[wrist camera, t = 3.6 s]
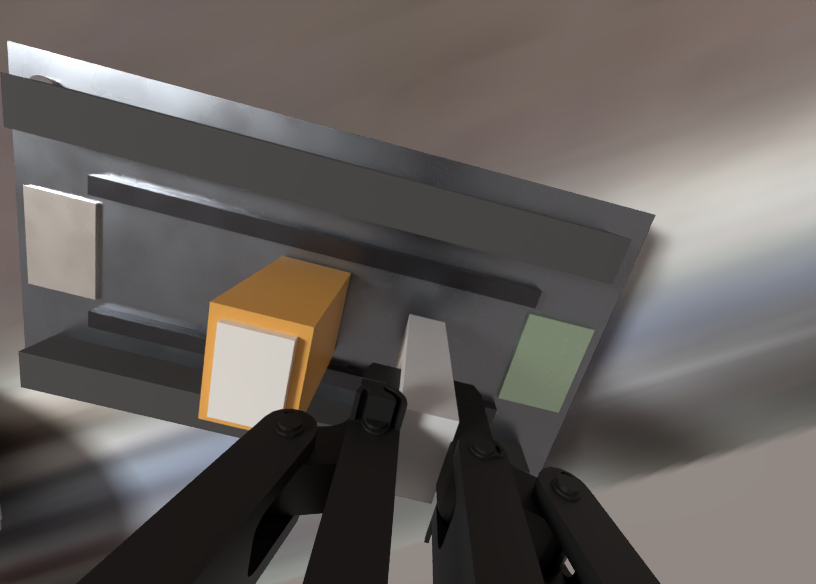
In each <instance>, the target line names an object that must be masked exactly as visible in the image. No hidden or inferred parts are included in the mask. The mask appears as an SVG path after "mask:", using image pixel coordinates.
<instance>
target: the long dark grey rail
mask: <svg viewBox="0 0 816 584" xmlns="http://www.w3.org/2000/svg"><path fill="white" fill-rule="evenodd" d="M0 73H1V88H2V103H3V119H4V127H6V128H10V129H14V130H18V131H22V132H25V133H29V134H33V135H37V136H41V137H45V138H48V139H52V140H56V141H60V142H64V143H68V144H72V145H75V146H79V147H83V148H87V149H91V150H95V151H99V152H102V153H106V154H110V155H114V156H118V157H122V158H126V159H129V160H133V161H137V162H141V163H145V164H149V165H152V166H156V167H160V168H164V169H168V170H172V171H176V172H179V173H183V174H187V175H191V176H195V177H199V178H203V179H206V180H210V181H214V182H218V183H222V184H226V185H229V186H233V187H237V188H241V189H245V190H249V191H253V192H256V193H260V194H264V195H268V196H272V197H276V198H280V199H283V200H287V201H291V202H295V203H299V204H303V205H306V206H310V207H314V208H318V209H322V210H326V211H330V212H333V213H337V214H341V215H345V216H349V217H353V218H357V219H360V220H364V221H368V222H372V223H376V224H380V225H383V226H387V227H391V228H395V229H399V230H403V231H407V232H410V233H414V234H418V235H422V236H426V237H430V238H434V239H437V240H441V241H445V242H449V243H453V244H457V245H460V246H464V247H468V248H472V249H476V250H480V251H484V252H487V253H491V254H495V255H499V256H503V257H507V258H511V259H514V260H518V261H522V262H526V263H530V264H534V265H537V266H541V267H545V268H549V269H553V270H557V271H561V272H564V273H568V274H572V275H576V276H580V277H584V278H588V279H591V280H595V281H599V282H603V283H607V284H611V285H612V284H613V282H614V279H615V277H616V275H617V273H618V270H619V268H620V266H621V263H622V261H623V259H624V257H625V254H626V252H627V250H628V247H629V245H630V243H631V241H632V240H631V239H629V238H626V237H623V236H620V235H617V234H614V233H611V232H608V231H604V230H600V229H597V228H593V227H589V226H585V225H582V224H578V223H574V222H570V221H566V220H563V219H559V218H555V217H551V216H548V215H544V214H540V213H536V212H533V211H529V210H525V209H521V208H518V207H514V206H510V205H506V204H502V203H499V202H495V201H491V200H487V199H484V198H480V197H476V196H472V195H469V194H465V193H461V192H457V191H454V190H450V189H446V188H442V187H438V186H435V185H431V184H427V183H423V182H420V181H416V180H412V179H408V178H405V177H401V176H397V175H393V174H390V173H386V172H382V171H378V170H374V169H371V168H367V167H363V166H359V165H356V164H352V163H348V162H344V161H341V160H337V159H333V158H329V157H326V156H322V155H318V154H314V153H310V152H307V151H303V150H299V149H295V148H292V147H288V146H284V145H280V144H277V143H273V142H269V141H265V140H262V139H258V138H254V137H250V136H246V135H243V134H239V133H235V132H231V131H228V130H224V129H220V128H216V127H213V126H209V125H205V124H201V123H198V122H194V121H190V120H186V119H182V118H179V117H175V116H171V115H167V114H164V113H160V112H156V111H152V110H149V109H145V108H141V107H137V106H134V105H130V104H126V103H122V102H118V101H115V100H111V99H107V98H103V97H100V96H96V95H92V94H88V93H85V92H81V91H77V90H73V89H70V88H66V87H62V86H58V85H54V84H50V83H46V82H42V81H38V80H33V79H29V78H25V77H20V76H16V75H11V74H7V73H2V72H0Z"/></svg>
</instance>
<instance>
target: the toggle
mask: <svg viewBox="0 0 816 584" xmlns="http://www.w3.org/2000/svg"><path fill="white" fill-rule="evenodd" d="M350 276H351V273H349V272H345V271H341V270H337V269H333V268H329V267H325V266H321V265H317V264H313V263H309V262H306V261H302V260H298V259H294V258H290V257H286V256H282V257H280V258H278V259H277V260H275V261H274V262H272V263H270V264H269V265H267V266H266V267H264V268H263V269H261V270H259V271H258V272H256V273H255V274H253V275H251V276H250V277H248V278H247V279H245V280H244V281H242V282H240V283H239V284H237V285H236V286H234V287H233V288H231V289H229V290H228V291H226V292H225V293H223V294H221V295H220V296H218V297H217V298H215V299H214V300H212V301H210V307H209V317H208V327H207V337H206V347H205V357H204V366H203V376H202V386H201V396H200V406H199V416H198V418H199V419H203V420H207V421H211V422H216V423H220V424H224V425H228V426H233V427H237V428H241V429H246V430H250V429H251V428H252V427H253V426H255V425H256V424H257V423H258V422H259V421H260V420H261V419H262V418H264V417H265V416H266V415H268V414H269V413H271V412H273V411H276V410H280V409H297V410H301V411H304V412H306V411H307V409H308V407H309V404H310V402H311V400H312V398H313V396H314V394H315V392H316V390H317V388H318V386H319V383H320V381H321V379H322V377H323V375H324V373H325V371H326V369H327V367H328V365H329V363H330V360H331V358H332V356H333V354H334V350H335V345H336V341H337V336H338V331H339V327H340V322H341V317H342V313H343V308H344V303H345V299H346V294H347V290H348V285H349V280H350Z"/></svg>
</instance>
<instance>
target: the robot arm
mask: <svg viewBox="0 0 816 584" xmlns="http://www.w3.org/2000/svg"><path fill="white" fill-rule="evenodd" d="M435 491H436V492H437V504H436V507H435V510H434V513H433V515H432V518H431V521H430V524H429V527H428V530H427V533H426V536H425V541H424V542H426V543H429V540H430V537H431V535H432V553H433V554H432V555H433V584H660V582H659V581H658V580H657V578H656V577H655V576H654V574H653V573H652V572H651V571H650V569H649V568H648V566H647V565H646V564H645V563H644V561H643V560H642V559H641V557H640V556H639V555H638V553H637V552H636V551H635V550H634V548H633V547H632V545H631V544H630V543H629V541H628V540H627V539H626V537H625V536H624V535H623V533H622V532H621V531H620V530H619V528H618V527H617V526H616V524H615V523H614V522H613V520H612V519H611V518H610V517H609V515H608V514H607V512H606V511H605V510H604V508H603V507H602V506H601V505H600V503H599V502H598V500H597V499H596V498H595V497H594V495H593V494H592V493H591V491H590V490H589V489H588V488H587V487H586V485H585V484H584V483H583V482H582V481H581V480H579V479H578V478H577V477H575V476H574V475H572V474H571V473H569V472H566V471H564V470H562V469H558V468H554V467H549V468H544V469H543V470H541V471H540V472H539V475H538V477H535V476H533V475H531V474H529V473H526V472H524V471H522V470H520V469H518V468H516V467H515V466H513V465H511V464H510V462H509V459H508V455H507V454H506V452H505V450H504V448H503V447H502V446H501V445H500V444H499V443H498V442H497V441H495V440H493V438H492V434H491V430H490V426H489V423H488V419H487V415H486V411H485V407H484V403H483V399H482V395H481V394H480V393H479V391H478V390H477V389H476V388H475V386H474V385H471V384H467V383H463V382H458V381H454V380H453V375H452V368H451V361H450V354H449V347H448V340H447V333H446V326H445V322H441V321H437V320H433V319H429V318H424V317H420V316H416V315H412V314H410V315H409V318H408V322H407V326H406V330H405V333H404V337H403V341H402V345H401V349H400V352H399V356H398V360H397V364H396V367H391V366H386V365H382V364H378V363H374V362H373V363H372V364H370V365H369V366H368V367H366V368H365V371H364V374H363V378H362V381H361V385H360V387H359V388H358V390H357V391H356V394H355V399H354V403H353V407H352V411H351V415H350V418H348V419H347V420H346V421H345V422H343V423H341V424H337V425H334V426H317V422H316V421H315V419H314V418H313V417H312V416H311V415H309V414H308V413H306V412H304V411H301V410H297V409H280V410H276V411H273V412H271V413H269V414H268V415H266V416H265V417H264V418H262V419H261V420H260V421H259V422H258V423H257V424H256V425H255V426H253V427H252V428H251V429H250V430H249V431H248V432H247V433H246V434H244V435H243V436H242V437H241V438H240V439H239V440H238V441H237V442H235V443H234V444H233V445H232V446H231V447H230V448H229V449H228V450H226V451H225V452H224V453H223V454H222V455H221V456H220V457H219V458H217V459H216V460H215V461H214V462H213V463H212V464H211V465H210V466H208V467H207V468H206V469H205V470H204V471H203V472H202V473H201V474H199V475H198V476H197V477H196V478H195V479H194V480H193V481H192V482H190V483H189V484H188V485H187V486H186V487H185V488H184V489H183V490H181V491H180V492H179V493H178V494H177V495H176V496H175V497H174V498H172V499H171V500H170V501H169V502H168V503H167V504H166V505H165V506H163V507H162V508H161V509H160V510H159V511H158V512H157V513H156V514H154V515H153V516H152V517H151V518H150V519H149V520H148V521H146V522H145V523H144V524H143V525H142V526H141V527H140V528H139V529H137V530H136V531H135V532H134V533H133V534H132V535H131V536H130V537H128V538H127V539H126V540H125V541H124V542H123V543H122V544H121V545H119V546H118V547H117V548H116V549H115V550H114V551H113V552H112V553H110V554H109V555H108V556H107V557H106V558H105V559H104V560H103V561H101V562H100V563H99V564H98V565H97V566H96V567H95V568H94V569H92V570H91V571H90V572H89V573H88V574H87V575H86V576H85V577H83V578H82V579H81V580H80V581H79V582H78V583H77V584H255V583H256V582H257V580H258V579H259V577H260V576H261V574H262V573H263V572H264V570H265V569H266V567H267V566H268V564H269V563H270V561H271V560H272V558H273V557H274V555H275V554H276V552H277V551H278V549H279V548H280V546H281V545H282V543H283V542H284V540H285V539H286V537H287V536H288V534H289V533H290V531H291V530H292V528H293V527H294V525H295V524H296V522H297V520H298V518H299V516H300V515H307V514H319V513H323V514H322V518H321V521H320V525H319V528H318V532H317V535H316V539H315V542H314V546H313V549H312V553H311V556H310V560H309V563H308V567H307V570H306V574H305V577H304V581H303V584H388V572H389V560H390V548H391V536H392V523H393V511H394V499H395V496H399V497H404V498H408V499H413V500H417V501H421V502H426V503H430V504H431V503H432V500H433V497H434V494H435ZM566 558H568V560H569V562H570V563H571V565H572V567H573V569H574V570H575V573H574V574H573V575H572V574H571V573H570V572H569V570H568V569H567V567H566V565H565V564H564V563H565V561H566Z"/></svg>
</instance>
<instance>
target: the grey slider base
mask: <svg viewBox="0 0 816 584" xmlns="http://www.w3.org/2000/svg"><path fill="white" fill-rule="evenodd" d="M7 45H8V62H9V74H11V75H16V76H20V77H25V78H29V79H33V80H38V81H42V82H46V83H50V84H54V85H58V86H62V87H66V88H70V89H73V90H77V91H81V92H85V93H88V94H92V95H96V96H100V97H103V98H107V99H111V100H115V101H118V102H122V103H126V104H130V105H134V106H137V107H141V108H145V109H149V110H152V111H156V112H160V113H164V114H167V115H171V116H175V117H179V118H182V119H186V120H190V121H194V122H198V123H201V124H205V125H209V126H213V127H216V128H220V129H224V130H228V131H231V132H235V133H239V134H243V135H246V136H250V137H254V138H258V139H262V140H265V141H269V142H273V143H277V144H280V145H284V146H288V147H292V148H295V149H299V150H303V151H307V152H310V153H314V154H318V155H322V156H326V157H329V158H333V159H337V160H341V161H344V162H348V163H352V164H356V165H359V166H363V167H367V168H371V169H374V170H378V171H382V172H386V173H390V174H393V175H397V176H401V177H405V178H408V179H412V180H416V181H420V182H423V183H427V184H431V185H435V186H438V187H442V188H446V189H450V190H454V191H457V192H461V193H465V194H469V195H472V196H476V197H480V198H484V199H487V200H491V201H495V202H499V203H502V204H506V205H510V206H514V207H518V208H521V209H525V210H529V211H533V212H536V213H540V214H544V215H548V216H551V217H555V218H559V219H563V220H566V221H570V222H574V223H578V224H582V225H585V226H589V227H593V228H597V229H600V230H604V231H608V232H611V233H614V234H617V235H620V236H623V237H626V238H629V239H631V240H632V241H631V243H630V245H629V247H628V250H627V252H626V254H625V257H624V259H623V261H622V263H621V266H620V268H619V270H618V273H617V275H616V277H615V279H614V282H613V284H612V285H611V284H607V283H603V282H599V281H595V280H591V279H588V278H584V277H580V276H576V275H572V274H568V273H564V272H561V271H557V270H553V269H549V268H545V267H541V266H537V265H534V264H530V263H526V262H522V261H518V260H514V259H511V258H507V257H503V256H499V255H495V254H491V253H487V252H484V251H480V250H476V249H472V248H468V247H464V246H460V245H457V244H453V243H449V242H445V241H441V240H437V239H434V238H430V237H426V236H422V235H418V234H414V233H410V232H407V231H403V230H399V229H395V228H391V227H387V226H383V225H380V224H376V223H372V222H368V221H364V220H360V219H357V218H353V217H349V216H345V215H341V214H337V213H333V212H330V211H326V210H322V209H318V208H314V207H310V206H306V205H303V204H299V203H295V202H291V201H287V200H283V199H280V198H276V197H272V196H268V195H264V194H260V193H256V192H253V191H249V190H245V189H241V188H237V187H233V186H229V185H226V184H222V183H218V182H214V181H210V180H206V179H203V178H199V177H195V176H191V175H187V174H183V173H179V172H176V171H172V170H168V169H164V168H160V167H156V166H152V165H149V164H145V163H141V162H137V161H133V160H129V159H126V158H122V157H118V156H114V155H110V154H106V153H102V152H99V151H95V150H91V149H87V148H83V147H79V146H75V145H72V144H68V143H64V142H60V141H56V140H52V139H48V138H45V137H41V136H37V135H33V134H29V133H25V132H22V131H18V130H14V129H13V146H14V163H15V180H16V197H17V214H18V231H19V248H20V265H21V282H22V299H23V316H24V333H25V348H28V347H30V346H32V345H34V344H36V343H38V342H41V341H43V340H45V339H47V338H49V337H52V336H54V335H61V336H65V337H69V338H73V339H77V340H81V341H86V342H90V343H94V344H98V345H102V346H107V347H111V348H115V349H119V350H123V351H127V352H132V353H136V354H140V355H144V356H148V357H153V358H157V359H161V360H165V361H169V362H173V363H178V364H182V365H186V366H190V367H194V368H199V369H203V366H204V357H205V347H206V337H207V327H208V317H209V307H210V301H212V300H214V299H215V298H217V297H218V296H220V295H221V294H223V293H225V292H226V291H228V290H229V289H231V288H233V287H234V286H236V285H237V284H239V283H240V282H242V281H244V280H245V279H247V278H248V277H250V276H251V275H253V274H255V273H256V272H258V271H259V270H261V269H263V268H264V267H266V266H267V265H269V264H270V263H272V262H274V261H275V260H277V259H278V258H280V257H282V256H286V257H290V258H294V259H298V260H302V261H306V262H309V263H313V264H317V265H321V266H325V267H329V268H333V269H337V270H341V271H345V272H349V273H351V276H350V280H349V285H348V290H347V294H346V299H345V303H344V308H343V313H342V317H341V322H340V327H339V331H338V336H337V341H336V345H335V350H334V354H333V356H332V358H331V360H330V363H329V365H328V367H327V369H326V371H325V373H324V375H323V377H322V379H321V381H320V383H319V386H318V388H317V390H316V392H315V394H314V396H316V397H320V398H324V399H328V400H332V401H337V402H341V403H345V404H349V405H353V403H354V399H355V394H356V391H357V390H358V388H359V387H360V385H361V381H362V378H363V374H364V371H365V368H366V367H368V366H369V365H370V364H372V363H373V362H374V363H378V364H382V365H386V366H391V367H396V364H397V360H398V356H399V352H400V349H401V345H402V341H403V337H404V333H405V330H406V326H407V322H408V318H409V315H410V314H412V315H416V316H420V317H424V318H429V319H433V320H437V321H441V322H445V326H446V333H447V340H448V347H449V354H450V361H451V368H452V375H453V380H454V381H458V382H463V383H467V384H471V385H474V386H475V388H476V389H477V390H478V391H479V393H480V394H481V395H482V399H483V403H484V407H485V411H486V415H487V419H488V423H489V426H490V430H491V434H492V438H493V439H496V440H500V441H504V442H508V443H512V444H516V445H521V448H522V451H523V454H524V456H525V459H526V462H527V465H528V468H529V471H530V474H531V475H533V476H535V477H538V475H539V472H540V471H541V470H542V468H543V466H544V463H545V461H546V459H547V457H548V454H549V452H550V450H551V448H552V445H553V443H554V441H555V439H556V436H557V434H558V432H559V430H560V428H561V425H562V423H563V421H564V419H565V416H566V414H567V412H568V410H569V407H570V405H571V403H572V401H573V398H574V396H575V394H576V392H577V390H578V387H579V385H580V383H581V381H582V378H583V376H584V374H585V372H586V369H587V367H588V365H589V363H590V360H591V358H592V356H593V354H594V352H595V349H596V347H597V345H598V343H599V340H600V338H601V336H602V334H603V331H604V329H605V327H606V325H607V322H608V320H609V318H610V316H611V314H612V311H613V309H614V307H615V305H616V302H617V300H618V298H619V296H620V293H621V291H622V289H623V287H624V285H625V282H626V280H627V278H628V276H629V273H630V271H631V269H632V267H633V264H634V262H635V260H636V258H637V255H638V253H639V251H640V249H641V247H642V244H643V242H644V240H645V238H646V235H647V233H648V231H649V229H650V226H651V224H652V222H653V220H654V217H655V215H654V214H650V213H646V212H642V211H639V210H635V209H631V208H628V207H624V206H620V205H616V204H613V203H609V202H605V201H602V200H598V199H594V198H590V197H587V196H583V195H579V194H576V193H572V192H568V191H564V190H561V189H557V188H553V187H549V186H546V185H542V184H538V183H535V182H531V181H527V180H523V179H520V178H516V177H512V176H509V175H505V174H501V173H497V172H494V171H490V170H486V169H483V168H479V167H475V166H471V165H468V164H464V163H460V162H457V161H453V160H449V159H445V158H442V157H438V156H434V155H430V154H427V153H423V152H419V151H416V150H412V149H408V148H404V147H401V146H397V145H393V144H390V143H386V142H382V141H378V140H375V139H371V138H367V137H364V136H360V135H356V134H352V133H349V132H345V131H341V130H338V129H334V128H330V127H326V126H323V125H319V124H315V123H312V122H308V121H304V120H300V119H297V118H293V117H289V116H285V115H282V114H278V113H274V112H271V111H267V110H263V109H259V108H256V107H252V106H248V105H245V104H241V103H237V102H233V101H230V100H226V99H222V98H219V97H215V96H211V95H207V94H204V93H200V92H196V91H193V90H189V89H185V88H181V87H178V86H174V85H170V84H166V83H163V82H159V81H155V80H152V79H148V78H144V77H140V76H137V75H133V74H129V73H126V72H122V71H118V70H114V69H111V68H107V67H103V66H100V65H96V64H92V63H88V62H85V61H81V60H77V59H74V58H70V57H66V56H62V55H59V54H55V53H51V52H48V51H44V50H40V49H36V48H33V47H29V46H25V45H21V44H18V43H14V42H10V41H7Z"/></svg>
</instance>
